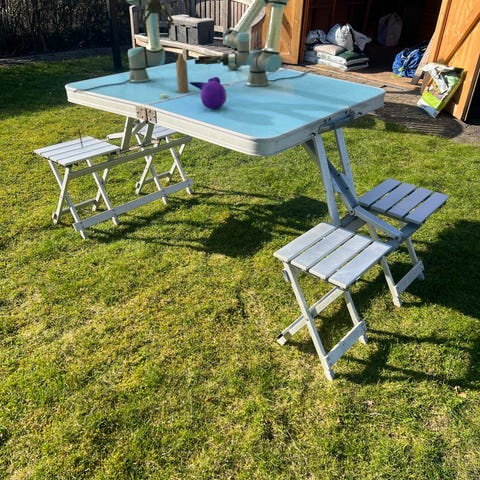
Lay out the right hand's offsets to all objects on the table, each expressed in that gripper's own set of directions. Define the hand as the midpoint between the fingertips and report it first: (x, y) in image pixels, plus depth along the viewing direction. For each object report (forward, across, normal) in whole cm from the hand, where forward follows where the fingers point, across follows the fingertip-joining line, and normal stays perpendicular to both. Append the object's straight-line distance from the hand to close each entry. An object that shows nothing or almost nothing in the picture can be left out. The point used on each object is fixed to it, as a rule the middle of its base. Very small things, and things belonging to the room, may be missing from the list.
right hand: (196, 60), depth 294 cm
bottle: (+11, 0, -20) cm, 23 cm away
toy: (-14, -42, -20) cm, 48 cm away
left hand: (+20, -18, +17) cm, 31 cm away
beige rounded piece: (-16, +81, -21) cm, 85 cm away
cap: (+20, -18, -18) cm, 32 cm away
